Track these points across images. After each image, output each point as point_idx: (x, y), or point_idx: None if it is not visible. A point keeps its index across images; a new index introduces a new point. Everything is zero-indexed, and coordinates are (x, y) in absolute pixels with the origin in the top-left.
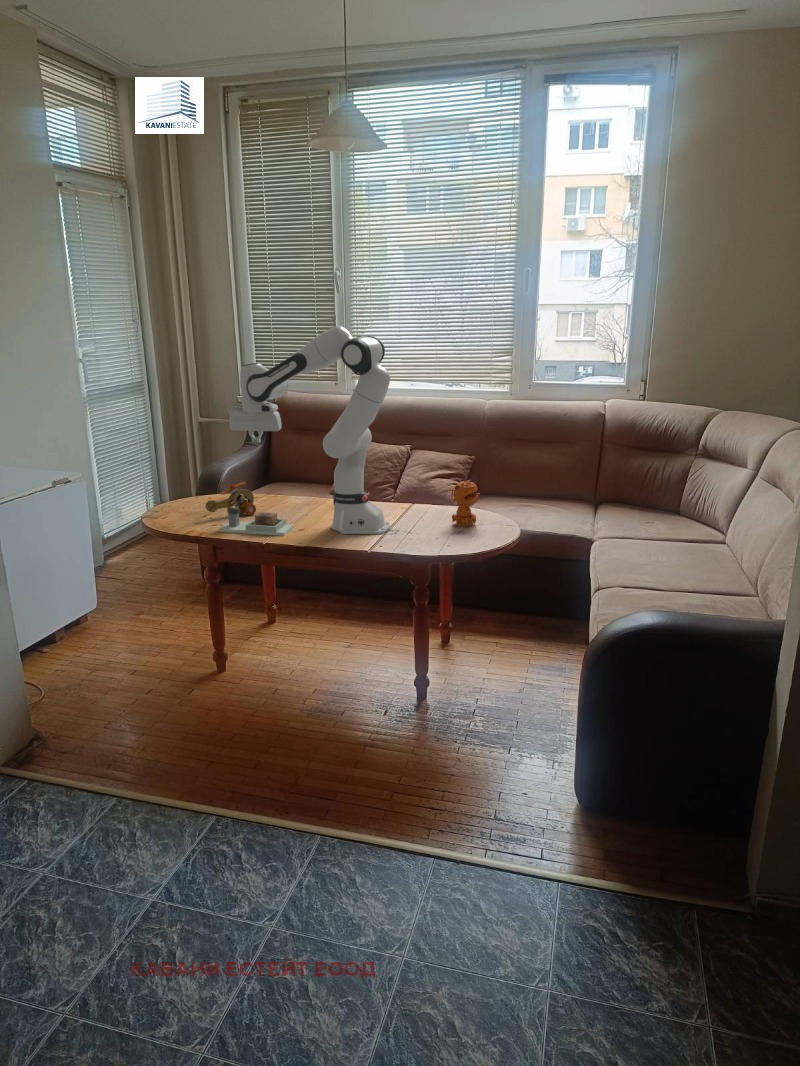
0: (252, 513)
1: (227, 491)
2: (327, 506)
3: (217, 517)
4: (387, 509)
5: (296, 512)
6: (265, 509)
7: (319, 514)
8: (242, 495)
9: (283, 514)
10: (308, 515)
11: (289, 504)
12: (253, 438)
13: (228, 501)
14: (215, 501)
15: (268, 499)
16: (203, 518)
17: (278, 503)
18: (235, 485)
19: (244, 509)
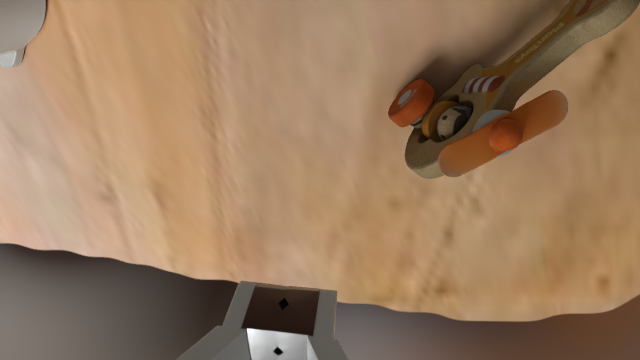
0: (399, 94)
1: (531, 107)
2: (190, 213)
3: None
4: (16, 194)
5: (253, 145)
6: (372, 171)
7: (169, 128)
8: (450, 134)
9: (287, 117)
10: (197, 113)
11: (312, 228)
12: (307, 329)
13: (511, 71)
14: (585, 19)
15: (395, 273)
16: None
17: (350, 237)
18: (494, 151)
19: (431, 88)
